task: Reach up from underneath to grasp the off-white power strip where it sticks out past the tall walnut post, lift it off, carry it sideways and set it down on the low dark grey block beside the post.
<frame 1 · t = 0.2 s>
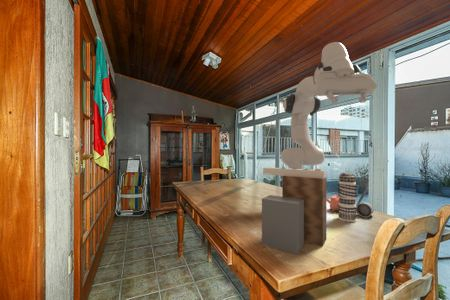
hand: (349, 102, 72), 54 cm above the table, tool tilted 30°, fingers open, 8 cm apart
walnut post: (304, 237, 87), on the table
dark grey block: (282, 245, 80), on the table
power strip: (292, 175, 90), point 26 cm above the table, touching walnut post
decorative candle: (347, 219, 111), on the table
ceramic mug: (362, 215, 118), on the table
teapot: (337, 210, 129), on the table
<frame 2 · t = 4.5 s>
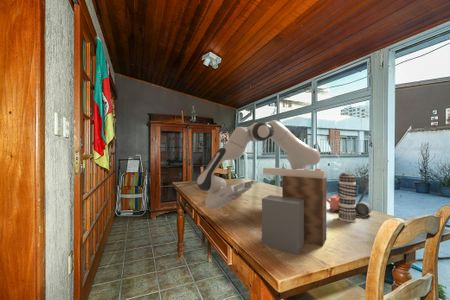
hand: (249, 182, 103), 21 cm above the table, tool pointing upward, fingers open, 8 cm apart
ceramic mug: (360, 215, 119), on the table
everything else where it was.
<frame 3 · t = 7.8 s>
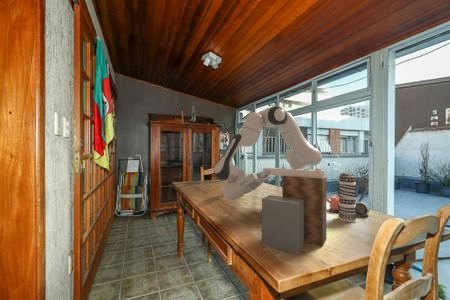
hand: (271, 170, 96), 28 cm above the table, tool pointing upward, fingers closed on power strip, 4 cm apart
power strip: (292, 175, 90), point 26 cm above the table, touching gripper, walnut post
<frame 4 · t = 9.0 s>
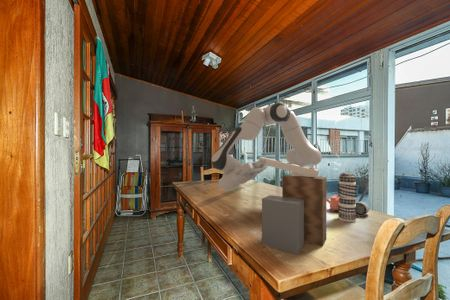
hand: (266, 160, 97), 33 cm above the table, tool pointing upward, fingers closed on power strip, 4 cm apart
power strip: (286, 169, 92), point 29 cm above the table, tilted 11°, touching gripper
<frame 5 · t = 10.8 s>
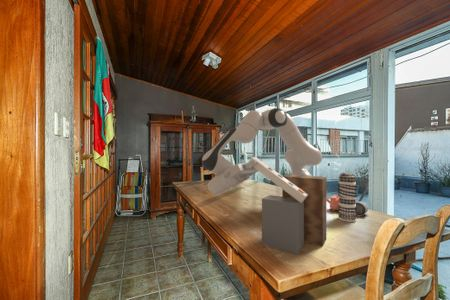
hand: (258, 161, 87), 33 cm above the table, tool pointing upward, fingers closed on power strip, 4 cm apart
power strip: (274, 180, 83), point 25 cm above the table, tilted 32°, touching gripper
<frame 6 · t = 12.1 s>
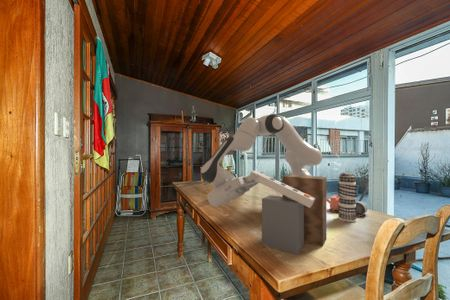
hand: (259, 174, 86), 27 cm above the table, tool pointing upward, fingers closed on power strip, 4 cm apart
power strip: (278, 190, 82), point 21 cm above the table, tilted 20°, touching gripper
when the fingers open (22 cm above the table, at t = 13.4 s): power strip stays where it is, resting on dark grey block.
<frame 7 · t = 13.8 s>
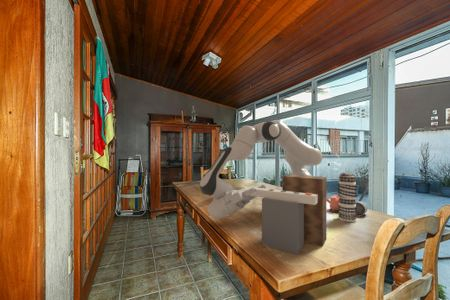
hand: (259, 187, 86), 21 cm above the table, tool pointing upward, fingers open, 8 cm apart
power strip: (280, 198, 81), point 18 cm above the table, touching dark grey block
ceramic mug: (356, 214, 121), on the table, touching teapot
teapot: (337, 210, 129), on the table, touching ceramic mug
everything else where it was.
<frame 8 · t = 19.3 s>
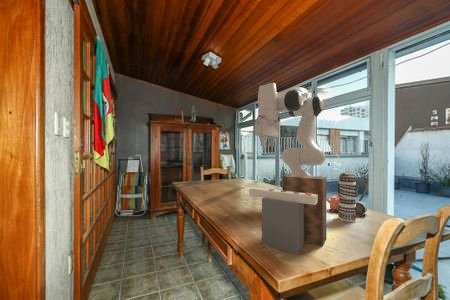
hand: (267, 146, 97), 39 cm above the table, tool pointing down, fingers open, 8 cm apart
ceramic mug: (356, 214, 121), on the table
teapot: (337, 210, 128), on the table
everything else where it was.
at the end: power strip inside the target area on the dark grey block (0.7 cm from its centre), point 18.0 cm above the dark grey block's base; power strip tilted 0°; the gripper is holding nothing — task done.
